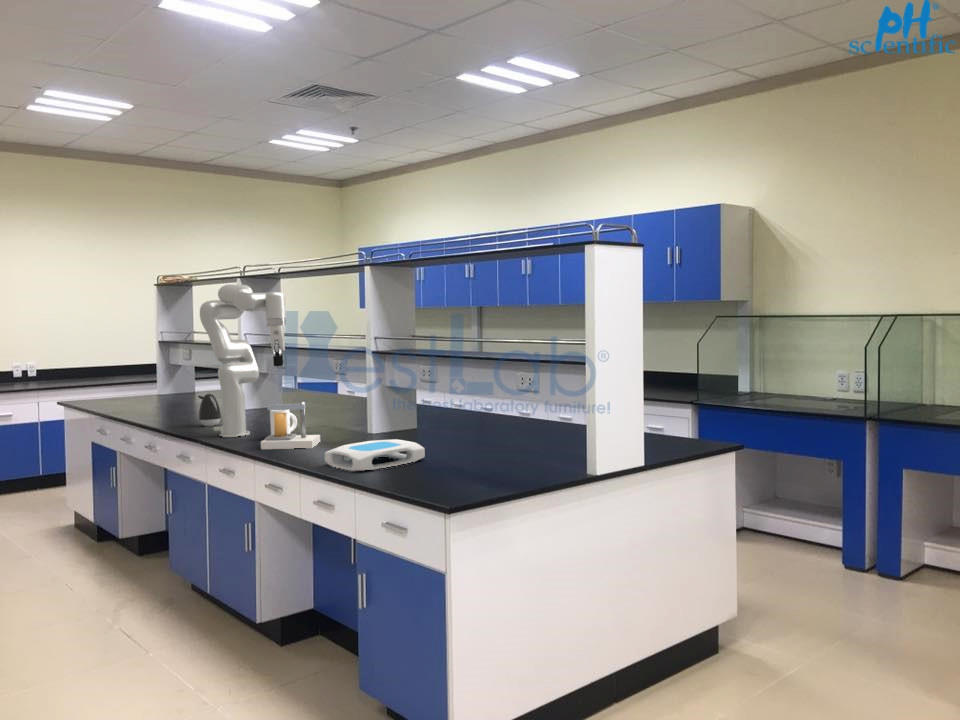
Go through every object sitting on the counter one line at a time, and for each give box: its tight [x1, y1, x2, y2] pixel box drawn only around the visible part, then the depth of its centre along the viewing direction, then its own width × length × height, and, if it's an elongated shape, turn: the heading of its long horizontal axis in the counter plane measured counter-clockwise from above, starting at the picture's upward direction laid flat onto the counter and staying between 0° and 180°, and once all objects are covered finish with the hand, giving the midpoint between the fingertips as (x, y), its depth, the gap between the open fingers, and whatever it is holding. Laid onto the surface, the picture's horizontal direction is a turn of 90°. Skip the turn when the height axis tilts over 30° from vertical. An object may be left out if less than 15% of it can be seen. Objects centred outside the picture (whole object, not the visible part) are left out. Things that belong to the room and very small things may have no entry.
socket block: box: [260, 433, 321, 450], centre depth 311 cm, size 20×14×4 cm
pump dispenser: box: [198, 393, 222, 427], centre depth 371 cm, size 10×10×15 cm
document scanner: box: [324, 438, 426, 472], centre depth 272 cm, size 21×28×6 cm
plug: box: [273, 412, 288, 438], centre depth 310 cm, size 6×6×10 cm
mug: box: [269, 410, 298, 435], centre depth 331 cm, size 8×12×12 cm
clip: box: [266, 401, 307, 438], centre depth 310 cm, size 14×2×14 cm, turn 89°
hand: (278, 365), depth 316 cm, fingers open, 9 cm apart
